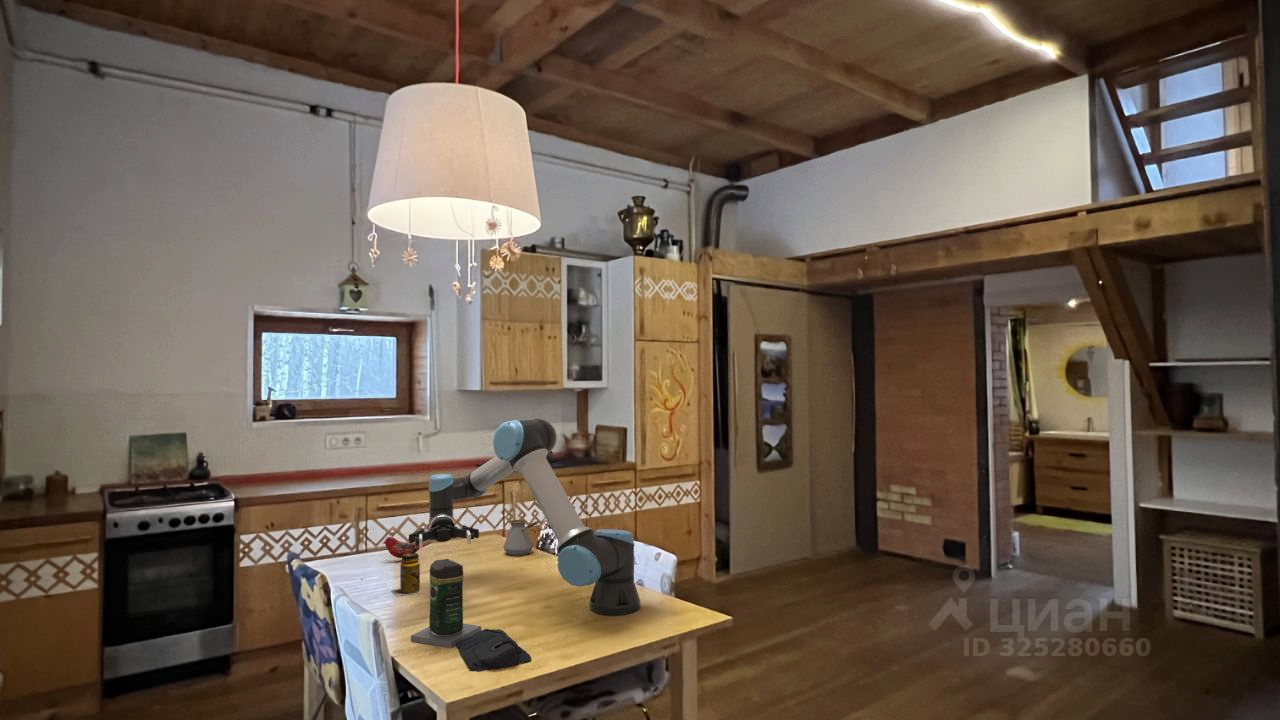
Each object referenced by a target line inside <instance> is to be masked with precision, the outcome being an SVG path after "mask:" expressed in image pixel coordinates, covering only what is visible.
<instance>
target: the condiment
mask: <svg viewBox="0 0 1280 720" xmlns="http://www.w3.org/2000/svg"><path fill="white" fill-rule="evenodd" d="M419 560H420V559H419V554H418V553H417V552H416V553H406V554H403V555H402V558H401V561H402V562H400V567H399V570H400V584H399V586H400V588H397V589H391V592H392V594H394V595H395V596H396V597H401V596H407V595H414V594H420V593H423V592H424V591H423V589H421V583H420V582H421V581H420V579H421V577H420V576H421V571H420V570H421V569H420V567H421V565H420V561H419Z"/></svg>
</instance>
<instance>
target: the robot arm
mask: <svg viewBox="0 0 1280 720" xmlns="http://www.w3.org/2000/svg"><path fill="white" fill-rule="evenodd" d="M557 439H558V438H557V432H556V429H555V427H554V426H553V425H552V424H551V423H550V422H549V421H548V420H545V419H541V418H532V419H521V420H517V419H513V420H510V421H505V422H502V423H501V424H499V426H498V428H496V430H495V432H494V435H493V441H492V445H493V451H494V454H495V455H496V456H494V457H492V458H491V459H489V460H488V461H487V462H485V463H484V464H482V465H480V466H479V467H478V468H476V469H475V470H473V471H472V472H470V473H469V474H467V475H466V476H461V477H453V475H452V474H451V473H449V474H448V473H440V474H433V475H431V476H430V477H429V482H428V491H429V492H428V494H429V519H428V522H429V523H428V526H429V528H430V529H429V530H426V529H425V528H423V527H422V528H420V529H419V530H416V531H414V532H412V533H409V534H408V543H410V544H414V545H415V546H419V547H420V549H422V548H423V547H422V545H423V543H424V542H427V541H437V542H439V543H444V542H445V543H446V542H448V541H450V540H451V539H457V538H460V539H466V542H467V544H468V545H471V544H472V540H474V539H479V538H480V529H478V528H474V527H470V526H467V525H466V524H462V525H461V526H460V528H459V527H458V526H455V521H454V502H458V501H463V500H469V499H476V498H478V497H481V496H484V495H485V493H486V492H487V490H488V488H490V487H492V486H494V485H495V484H497V483H498V482H499V481H501V480H503V479H504V478H506V477H507V476H509V475H510V474H512V473H513V472H516V473H520V474H521V475H522V477H523V479H524V481H525V483H526V485H527V486H528V489H529V490H530V492H531V494H532V496H533V498H534V500H535V501H536V503H537V505H538V507H539V508H540V510H541V512H542V514H543V516H544V518H545V520H546V521H547V524H548V525H549V528H551V531H552V533H553V534H554V536H555V538H556V540H557V541H558V542H557V546H556V552H557V553H558V555H557V560H556V561H557V569H558V573H559V575H560V576H561V578H562V579H563V580H564V581H565V582H566V583H567V584H569V585H571V586H575V587H578V588H579V587H580V588H581V587H586V586H590V585H593V584H594V586H593V589H592V591H591V595H590V598H589V609H590V611H591V612H593V613H596V614H599V615H608V616H621V615H627V614H632V613H634V612H637V611H639V610H640V609H641V599H640V595H639V592H638V589H637V586H636V583H635V543H634V534H633V533H632V532H631V531H628V530H622V529H612V528H610V529H609V528H606V529H605V528H604V529H603V528H602V529H599V528H598V529H597V530H595V532H594V530H593V527H588V526H585V524H584V523H583V521H582V520H581V518H580V516H579V514H578V512H577V511H576V509H575V507H574V505H573V503H572V502H571V500H570V498H569V496H568V494H567V493H566V490H565V489H564V487H563V486H562V484H561V482H560V480H559V479H558V477H557V475H556V474H555V472H554V470H553V468H552V466H551V464H550V462H549V461H548V459H547V456H548V454H549V453H551V452H552V451H553V449H554V448H555V446H556V444H557Z"/></svg>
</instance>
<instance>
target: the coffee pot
mask: <svg viewBox="0 0 1280 720" xmlns="http://www.w3.org/2000/svg"><path fill="white" fill-rule="evenodd" d="M526 523H527V520H526V519H513V520H510V521H509V524H510V525H511V527H510V530H509V533H508V535H507V536H506V540H505V543H504V544H503V549H504V552H505V553H507V554H508V556H512V557H522V556H527V555H528V554H529V553H530V552H531V551H532V550H533V547H534V544H533V543H532V540H531V538H530V535H529V533H528V531H527V530H528V529H530V528H533V527H535V526H538V524H540V525H539V527H540V526H542V522H541V521H539V520H537V521H534V522H532V523H530V524H528V525H527V526H525V525H526Z"/></svg>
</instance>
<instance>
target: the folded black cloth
mask: <svg viewBox="0 0 1280 720" xmlns="http://www.w3.org/2000/svg"><path fill="white" fill-rule="evenodd" d="M455 648H456V649H457V650H458V653H459V656H460V658H461V659H462V661H463V663H464V664H465V665H466V668H467V669H468V671H469V672H476V673H481V672H486V671H490V670H502V669H506V668H511V667H516V666H519V665H522V664H524V663H528V662H530V661H531V660H532V656H531V655H530V653H528V652H527V651H526V650H524V649H523V647H521V646H519V645H518V643H517V642H516V641H515V640H514V639H513V638H512V637H510V636H509V635H508V634H507V632H505V631H504V630H503V629H495V628H494V629H491V628H485V629H481V631H479V632H477V633H475V634H473V635H472V636H470V637H467V638H465V639H462V640H461V641H459V642H458V643H457V644H456V646H455Z"/></svg>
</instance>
